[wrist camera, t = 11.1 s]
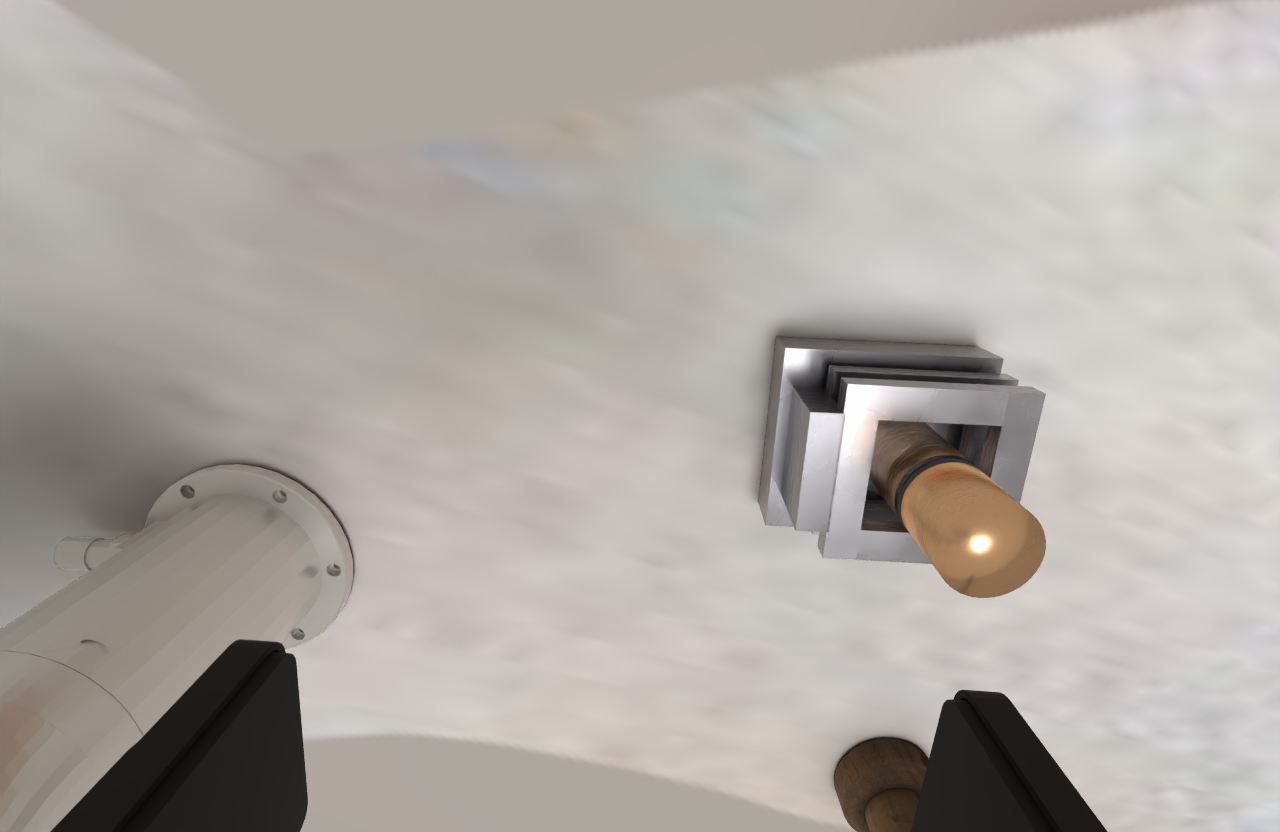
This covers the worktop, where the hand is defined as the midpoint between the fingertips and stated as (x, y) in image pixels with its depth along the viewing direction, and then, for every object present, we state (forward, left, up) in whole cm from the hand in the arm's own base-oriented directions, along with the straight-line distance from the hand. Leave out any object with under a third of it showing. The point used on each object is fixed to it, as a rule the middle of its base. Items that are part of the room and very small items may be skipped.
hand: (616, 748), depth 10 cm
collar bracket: (+12, -4, -29) cm, 32 cm away
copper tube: (+13, -4, -26) cm, 30 cm away
